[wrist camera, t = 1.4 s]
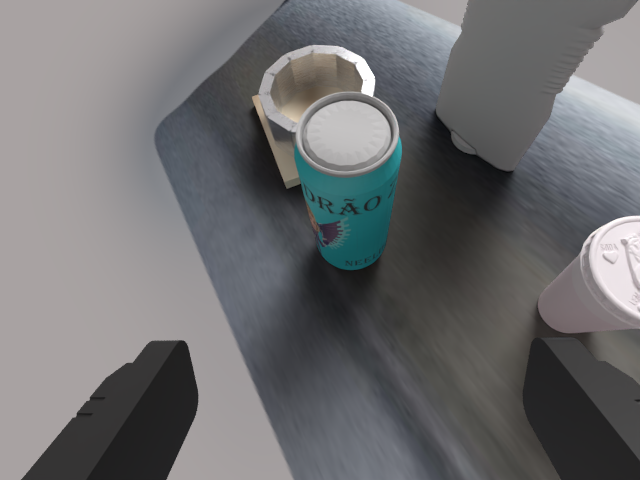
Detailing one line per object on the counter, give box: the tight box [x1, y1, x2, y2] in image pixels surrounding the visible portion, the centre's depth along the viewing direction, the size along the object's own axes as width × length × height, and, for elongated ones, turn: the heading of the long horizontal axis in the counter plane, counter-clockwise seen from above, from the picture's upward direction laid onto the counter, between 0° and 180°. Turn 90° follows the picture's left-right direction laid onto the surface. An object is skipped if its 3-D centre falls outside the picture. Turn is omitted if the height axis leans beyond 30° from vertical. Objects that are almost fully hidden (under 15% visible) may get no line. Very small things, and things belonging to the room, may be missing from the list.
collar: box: [258, 45, 375, 157], centre depth 35 cm, size 10×10×4 cm
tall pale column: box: [435, 0, 638, 172], centre depth 26 cm, size 11×4×22 cm, turn 36°
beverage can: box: [294, 92, 402, 270], centre depth 26 cm, size 6×6×15 cm
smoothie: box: [538, 216, 640, 333], centre depth 22 cm, size 6×6×14 cm
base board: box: [252, 86, 345, 189], centre depth 37 cm, size 11×11×1 cm
